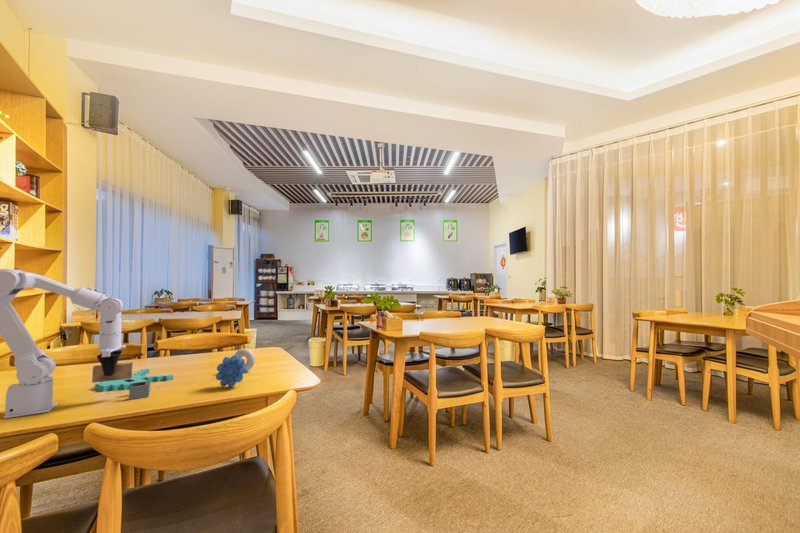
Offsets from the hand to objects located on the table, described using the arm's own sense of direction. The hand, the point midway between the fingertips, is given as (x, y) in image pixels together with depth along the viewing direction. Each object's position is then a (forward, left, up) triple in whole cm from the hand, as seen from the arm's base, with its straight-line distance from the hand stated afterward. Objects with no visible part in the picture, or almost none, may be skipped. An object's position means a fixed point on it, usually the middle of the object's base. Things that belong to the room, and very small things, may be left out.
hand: (109, 374), depth 113 cm
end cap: (+8, 0, -9) cm, 11 cm away
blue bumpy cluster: (+37, -5, -9) cm, 38 cm away
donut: (+43, +14, -9) cm, 46 cm away
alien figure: (+4, +20, -9) cm, 22 cm away
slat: (+1, 0, -2) cm, 2 cm away
